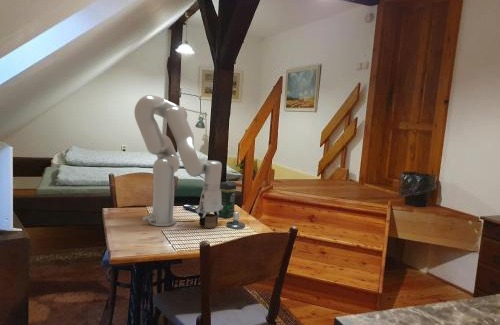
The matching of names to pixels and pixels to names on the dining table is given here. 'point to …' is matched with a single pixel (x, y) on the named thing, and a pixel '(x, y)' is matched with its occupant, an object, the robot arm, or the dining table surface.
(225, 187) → the coffee jar
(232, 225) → the post
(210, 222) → the collar
